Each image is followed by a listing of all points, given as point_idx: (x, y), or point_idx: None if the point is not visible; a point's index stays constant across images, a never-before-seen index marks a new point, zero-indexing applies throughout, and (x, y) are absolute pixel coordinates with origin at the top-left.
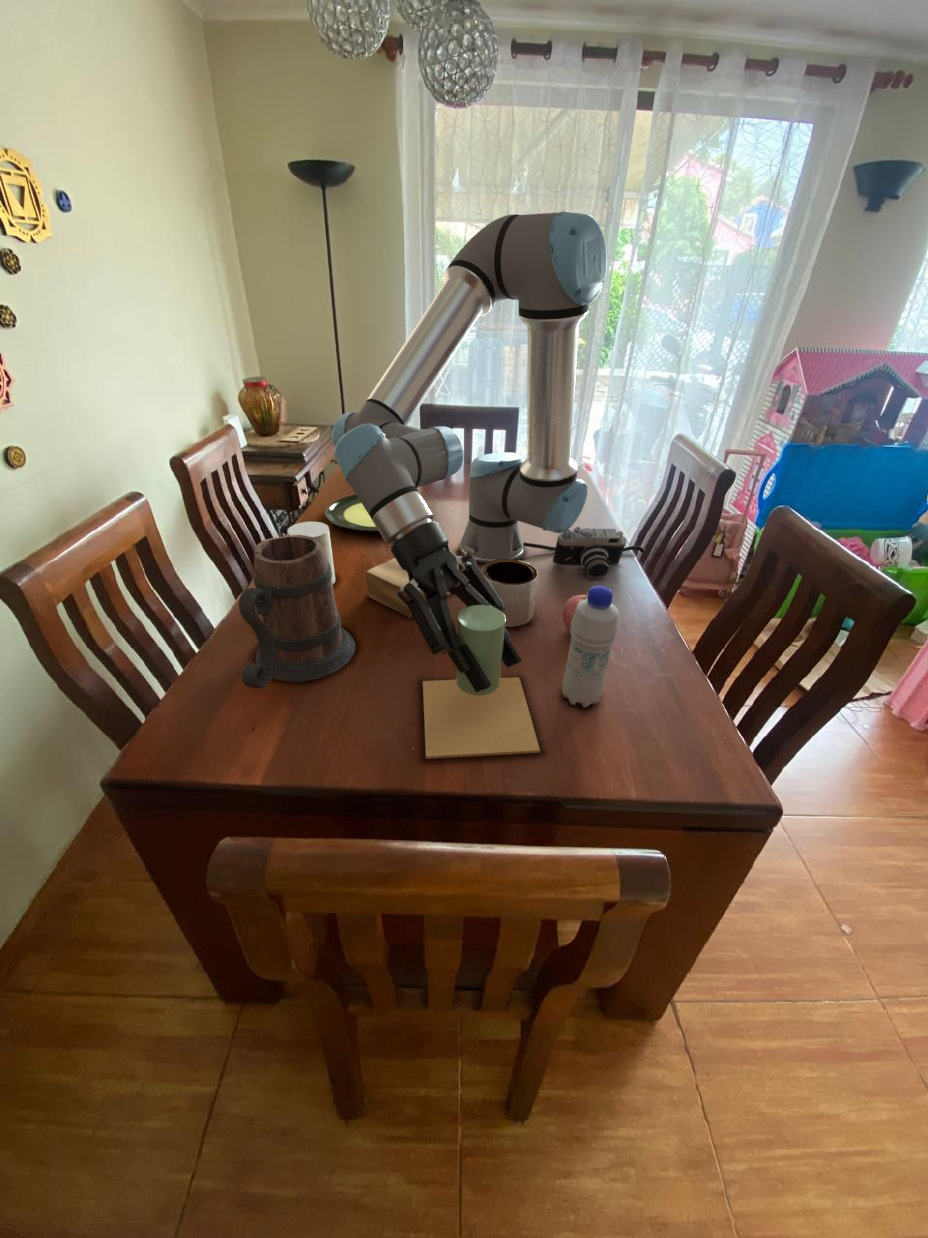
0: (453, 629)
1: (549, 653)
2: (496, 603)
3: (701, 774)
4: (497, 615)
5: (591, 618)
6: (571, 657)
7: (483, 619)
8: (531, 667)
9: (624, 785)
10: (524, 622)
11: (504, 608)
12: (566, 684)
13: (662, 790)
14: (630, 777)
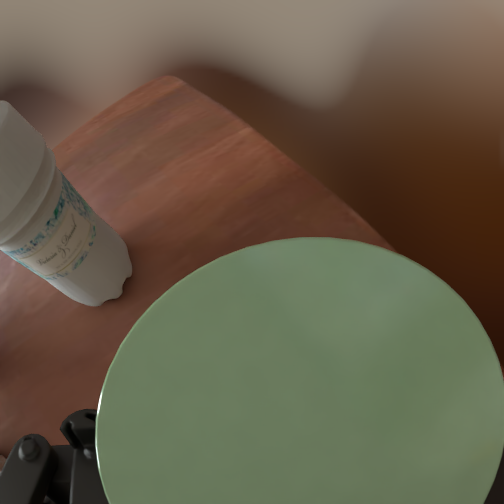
0: (494, 485)
1: (35, 383)
2: (34, 484)
3: (165, 107)
4: (177, 370)
5: (2, 121)
6: (69, 243)
7: (336, 420)
8: (83, 395)
9: (240, 141)
10: (3, 458)
11: (29, 438)
12: (111, 274)
13: (216, 116)
14: (222, 143)
